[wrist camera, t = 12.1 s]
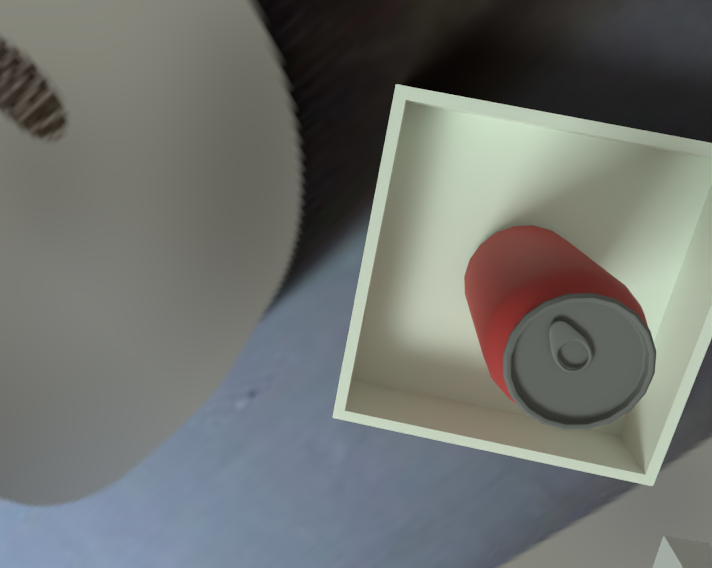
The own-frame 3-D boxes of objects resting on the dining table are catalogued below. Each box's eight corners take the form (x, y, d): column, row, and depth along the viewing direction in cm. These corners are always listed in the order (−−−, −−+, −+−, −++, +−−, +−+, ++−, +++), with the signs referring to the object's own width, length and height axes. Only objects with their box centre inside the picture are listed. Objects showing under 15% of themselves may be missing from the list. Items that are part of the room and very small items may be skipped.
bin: (398, 89, 31) (395, 84, 26) (729, 151, 30) (783, 156, 26) (342, 381, 36) (332, 417, 32) (622, 440, 35) (653, 486, 31)
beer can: (547, 201, 31) (626, 247, 20) (599, 300, 32) (702, 398, 21) (442, 259, 33) (458, 333, 21) (495, 351, 34) (537, 469, 22)
